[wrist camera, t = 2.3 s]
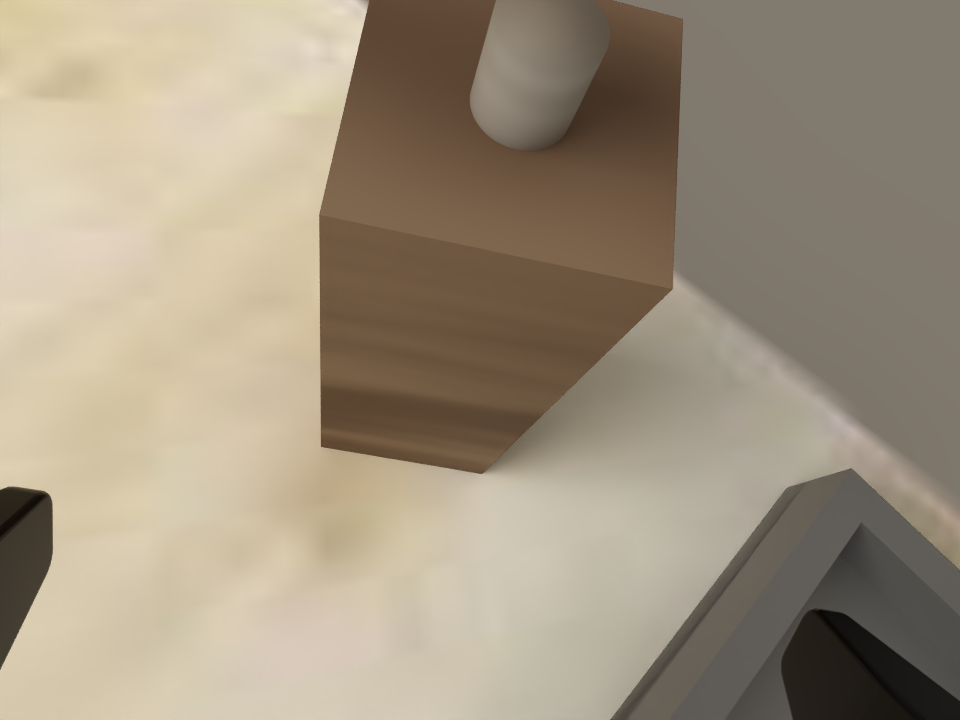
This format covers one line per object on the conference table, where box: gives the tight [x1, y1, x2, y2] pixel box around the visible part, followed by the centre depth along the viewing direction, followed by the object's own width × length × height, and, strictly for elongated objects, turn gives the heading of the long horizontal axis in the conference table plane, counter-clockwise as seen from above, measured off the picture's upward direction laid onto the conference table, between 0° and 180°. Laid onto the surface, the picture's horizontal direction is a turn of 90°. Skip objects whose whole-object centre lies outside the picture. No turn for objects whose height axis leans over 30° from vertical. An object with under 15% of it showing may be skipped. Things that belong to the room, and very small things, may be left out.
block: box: [319, 0, 683, 474], centre depth 15 cm, size 4×4×14 cm
